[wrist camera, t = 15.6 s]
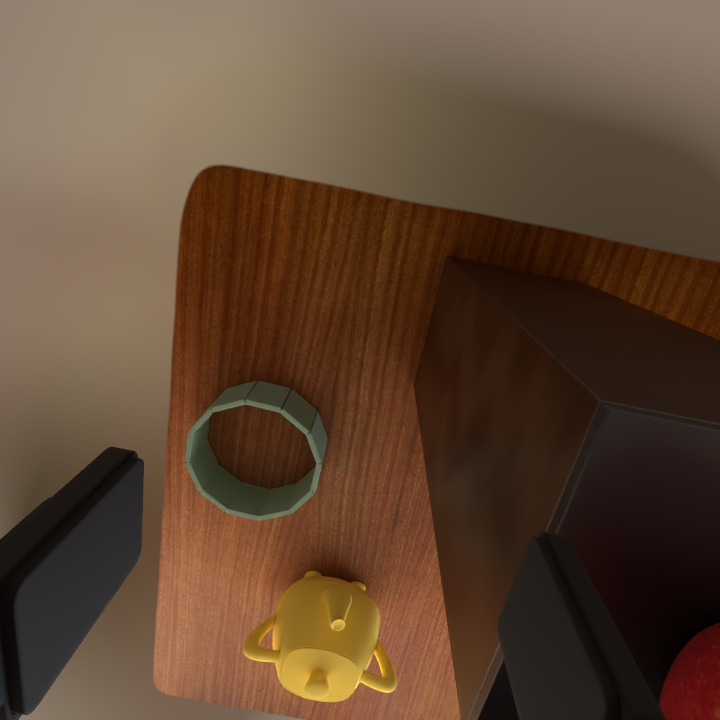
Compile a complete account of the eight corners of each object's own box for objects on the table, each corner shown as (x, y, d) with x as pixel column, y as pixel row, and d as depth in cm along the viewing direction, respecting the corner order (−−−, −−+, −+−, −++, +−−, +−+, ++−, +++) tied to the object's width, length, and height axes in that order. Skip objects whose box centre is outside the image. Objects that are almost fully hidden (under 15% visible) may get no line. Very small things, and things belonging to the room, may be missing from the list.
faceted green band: (184, 399, 50) (163, 419, 46) (302, 368, 48) (293, 386, 44) (231, 501, 55) (216, 530, 50) (341, 477, 53) (337, 504, 48)
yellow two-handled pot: (406, 612, 59) (411, 708, 48) (317, 649, 62) (301, 747, 51) (350, 538, 56) (340, 623, 44) (258, 581, 59) (228, 670, 48)
